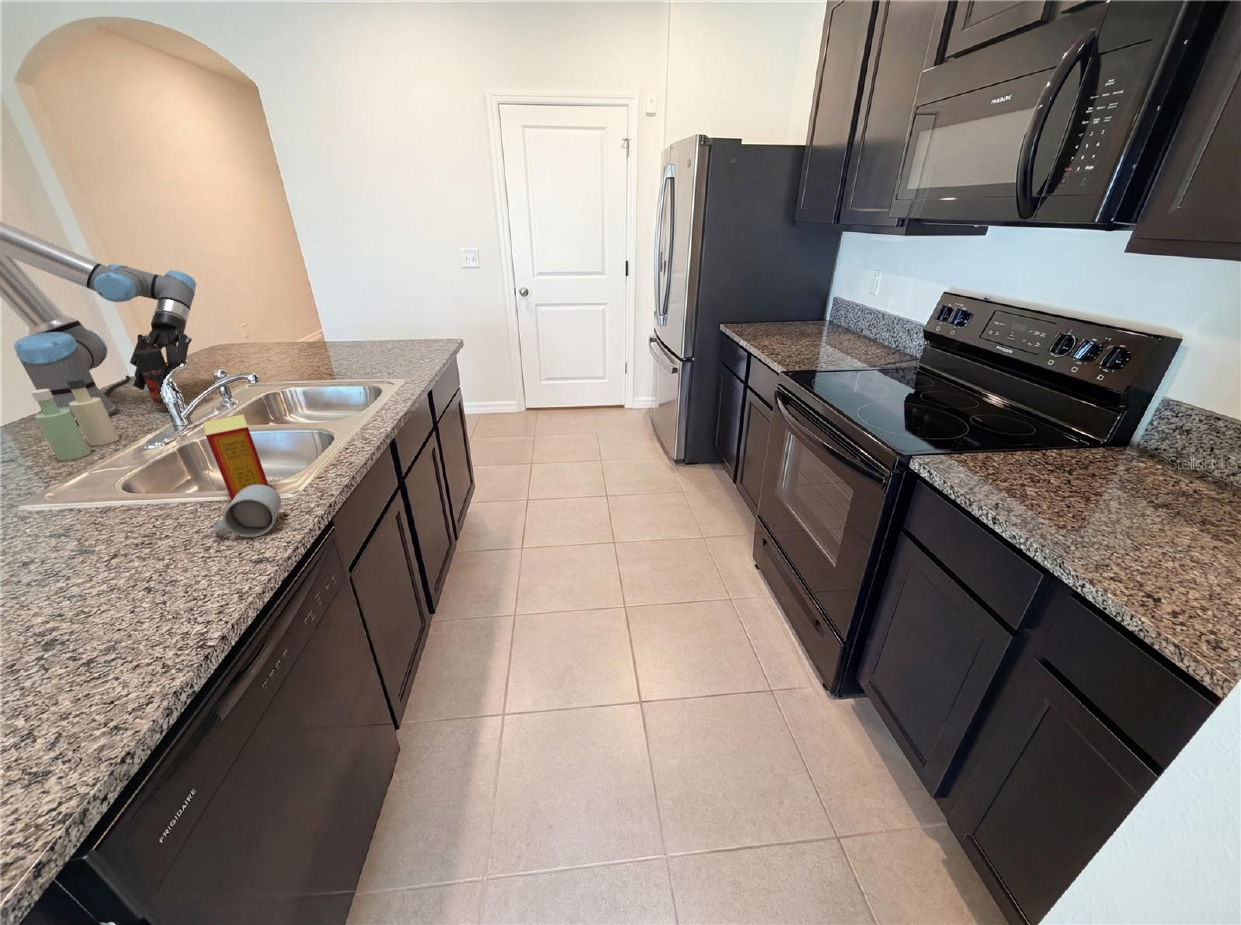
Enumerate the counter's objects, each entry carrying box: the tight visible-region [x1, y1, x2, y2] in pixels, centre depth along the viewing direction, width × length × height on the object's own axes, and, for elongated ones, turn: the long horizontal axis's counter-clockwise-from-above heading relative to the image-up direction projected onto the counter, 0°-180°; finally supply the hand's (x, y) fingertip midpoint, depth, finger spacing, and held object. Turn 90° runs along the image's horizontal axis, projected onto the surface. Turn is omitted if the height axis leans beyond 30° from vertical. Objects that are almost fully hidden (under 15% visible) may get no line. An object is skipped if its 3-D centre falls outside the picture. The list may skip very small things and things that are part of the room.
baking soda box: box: [203, 413, 270, 501], centre depth 102 cm, size 10×6×16 cm
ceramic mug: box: [213, 485, 282, 538], centre depth 92 cm, size 11×8×8 cm
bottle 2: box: [66, 378, 120, 447], centre depth 127 cm, size 6×6×16 cm
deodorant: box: [132, 349, 167, 405], centre depth 147 cm, size 6×6×15 cm
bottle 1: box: [30, 389, 92, 462], centre depth 119 cm, size 6×6×16 cm
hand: (151, 387), depth 145 cm, fingers closed on deodorant, 6 cm apart
